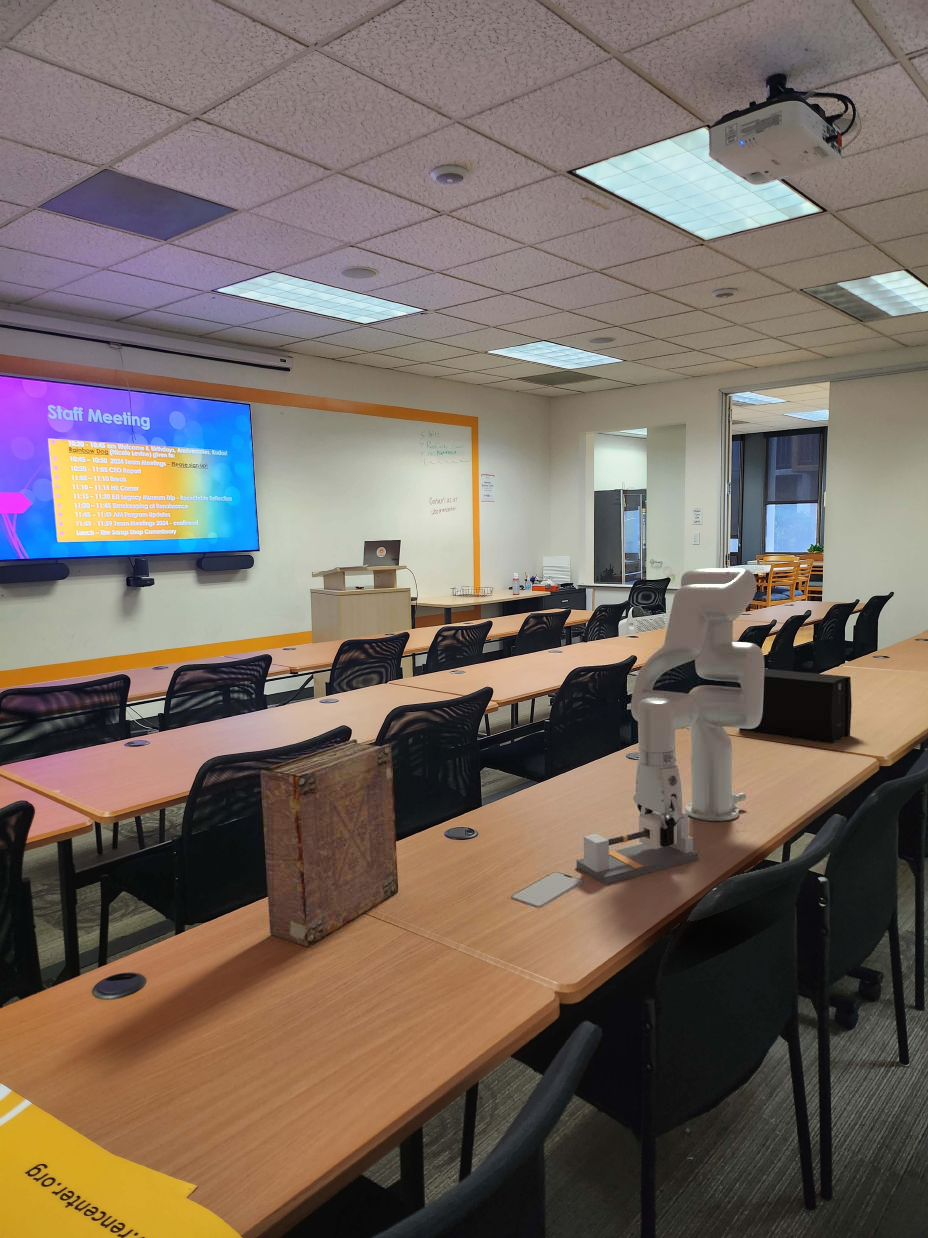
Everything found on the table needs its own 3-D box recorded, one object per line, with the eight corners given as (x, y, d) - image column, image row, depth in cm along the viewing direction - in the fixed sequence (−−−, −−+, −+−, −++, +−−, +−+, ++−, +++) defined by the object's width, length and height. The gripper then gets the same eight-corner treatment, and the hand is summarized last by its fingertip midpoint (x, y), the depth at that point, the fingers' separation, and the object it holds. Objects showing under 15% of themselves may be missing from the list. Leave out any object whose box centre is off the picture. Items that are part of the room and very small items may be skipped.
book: (363, 883, 164) (356, 738, 161) (399, 892, 159) (392, 743, 156) (269, 936, 143) (259, 770, 140) (307, 948, 137) (298, 777, 135)
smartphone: (508, 896, 154) (554, 871, 165) (508, 900, 155) (554, 874, 166) (539, 907, 149) (584, 880, 160) (539, 910, 150) (585, 883, 161)
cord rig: (666, 844, 178) (665, 802, 178) (698, 859, 170) (697, 815, 169) (576, 867, 168) (575, 823, 167) (605, 884, 159) (604, 837, 158)
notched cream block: (661, 836, 174) (660, 811, 174) (677, 843, 170) (676, 817, 169) (639, 841, 172) (638, 816, 171) (654, 849, 167) (654, 822, 167)
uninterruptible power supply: (831, 744, 258) (831, 683, 256) (733, 729, 282) (733, 673, 280) (851, 735, 269) (851, 676, 267) (755, 721, 293) (755, 667, 292)
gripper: (699, 763, 163) (700, 850, 165) (644, 746, 178) (645, 825, 180) (670, 769, 160) (671, 858, 161) (617, 751, 175) (618, 832, 177)
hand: (658, 840), depth 171 cm, fingers closed on notched cream block, 5 cm apart
